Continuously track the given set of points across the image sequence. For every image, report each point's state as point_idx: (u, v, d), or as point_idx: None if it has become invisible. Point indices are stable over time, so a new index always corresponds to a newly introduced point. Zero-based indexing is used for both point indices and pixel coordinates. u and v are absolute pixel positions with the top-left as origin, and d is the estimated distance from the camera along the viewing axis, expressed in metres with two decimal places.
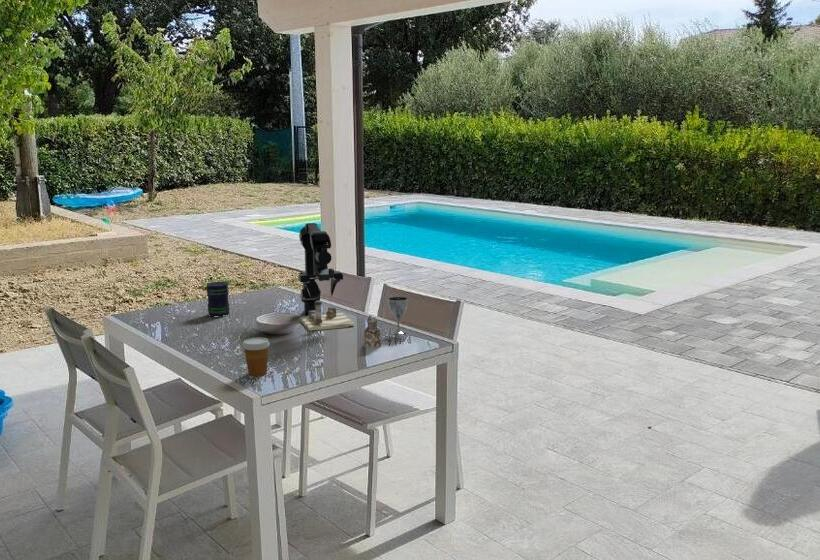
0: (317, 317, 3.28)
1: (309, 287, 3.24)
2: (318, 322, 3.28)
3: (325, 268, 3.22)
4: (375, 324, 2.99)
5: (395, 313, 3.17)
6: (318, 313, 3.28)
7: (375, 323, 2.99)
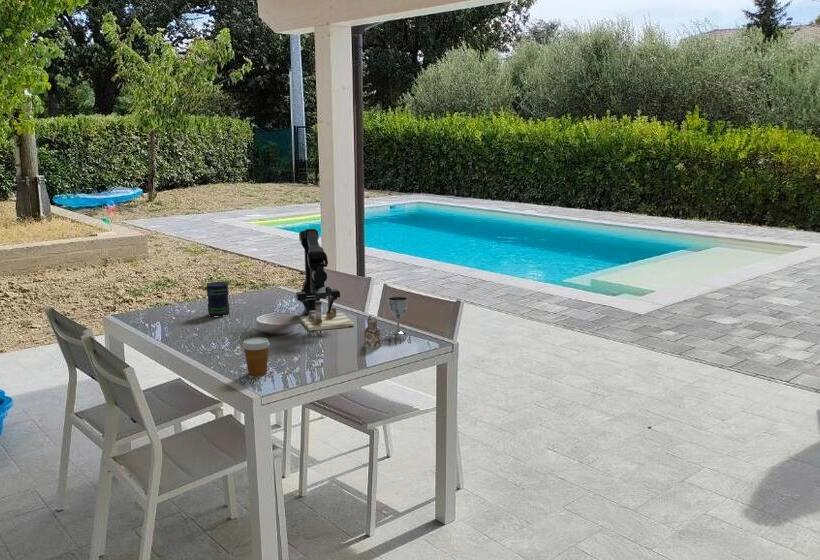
0: (317, 317, 3.28)
1: (306, 305, 3.25)
2: (318, 322, 3.28)
3: (322, 286, 3.23)
4: (375, 324, 2.99)
5: (395, 313, 3.17)
6: (318, 313, 3.28)
7: (375, 323, 2.99)
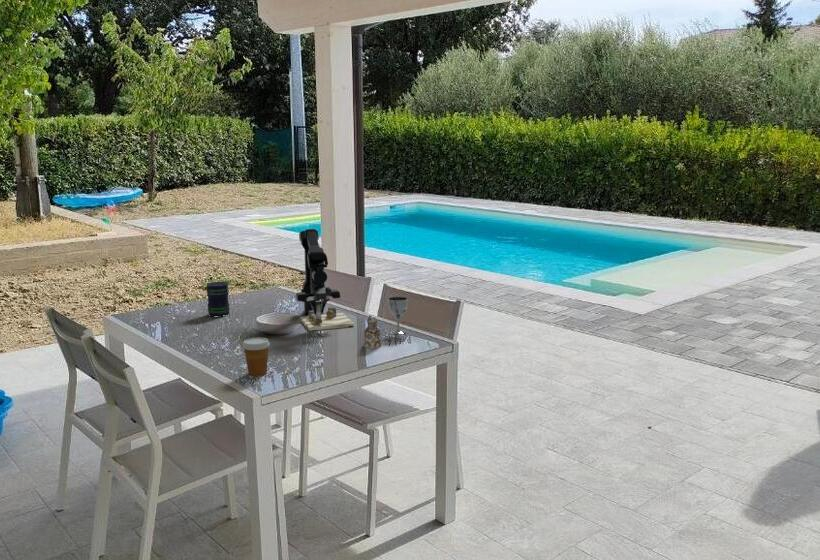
0: (317, 317, 3.28)
1: (313, 305, 3.26)
2: (318, 322, 3.28)
3: (322, 287, 3.23)
4: (375, 324, 2.99)
5: (395, 313, 3.17)
6: (318, 313, 3.28)
7: (375, 323, 2.99)
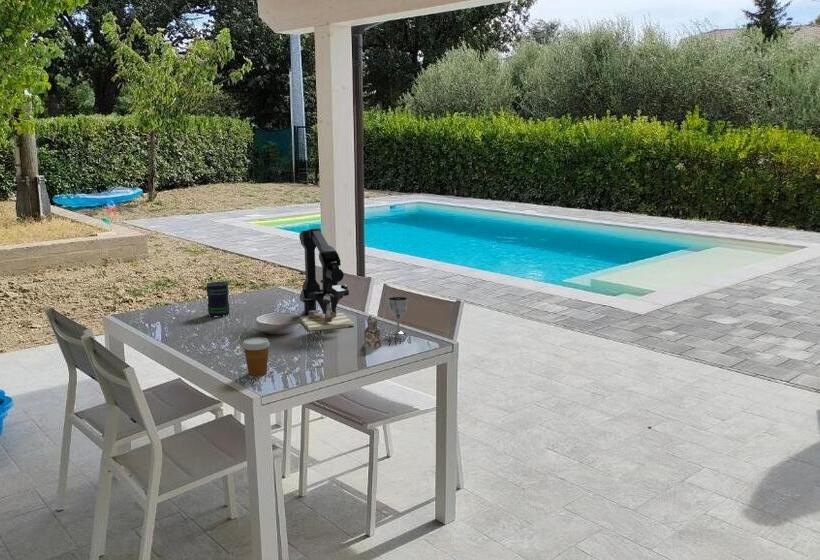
0: (327, 316, 3.30)
1: (325, 304, 3.28)
2: (328, 321, 3.30)
3: (337, 285, 3.28)
4: (375, 324, 2.99)
5: (395, 313, 3.17)
6: (328, 312, 3.30)
7: (375, 323, 2.99)
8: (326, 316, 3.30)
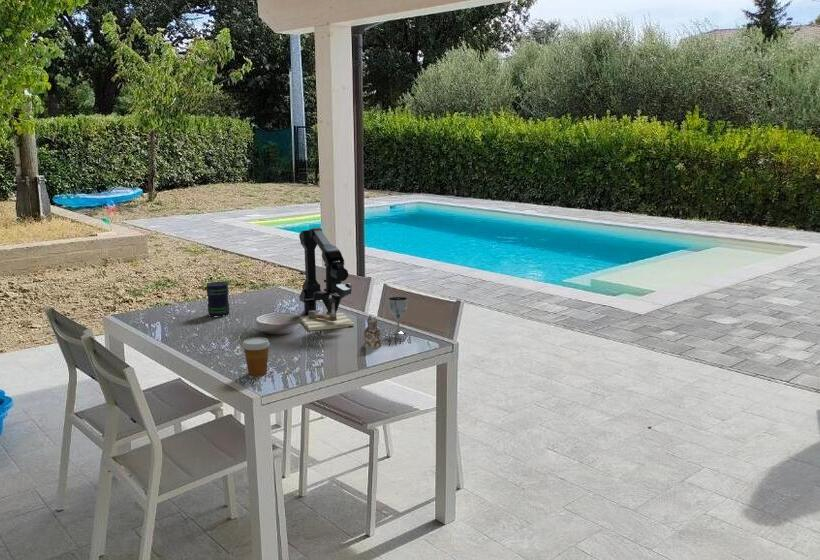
0: (332, 315, 3.32)
1: (330, 303, 3.29)
2: (333, 320, 3.32)
3: (341, 284, 3.30)
4: (375, 324, 2.99)
5: (395, 313, 3.17)
6: (333, 311, 3.32)
7: (375, 323, 2.99)
8: (331, 315, 3.32)
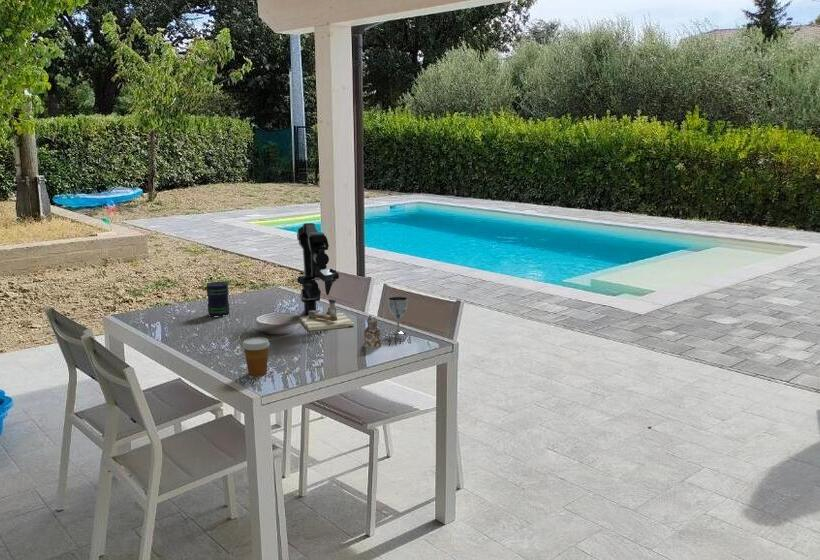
0: (332, 315, 3.32)
1: (310, 288, 3.29)
2: (334, 319, 3.32)
3: (325, 268, 3.29)
4: (375, 324, 2.99)
5: (395, 313, 3.17)
6: (333, 311, 3.32)
7: (375, 323, 2.99)
8: (332, 315, 3.32)
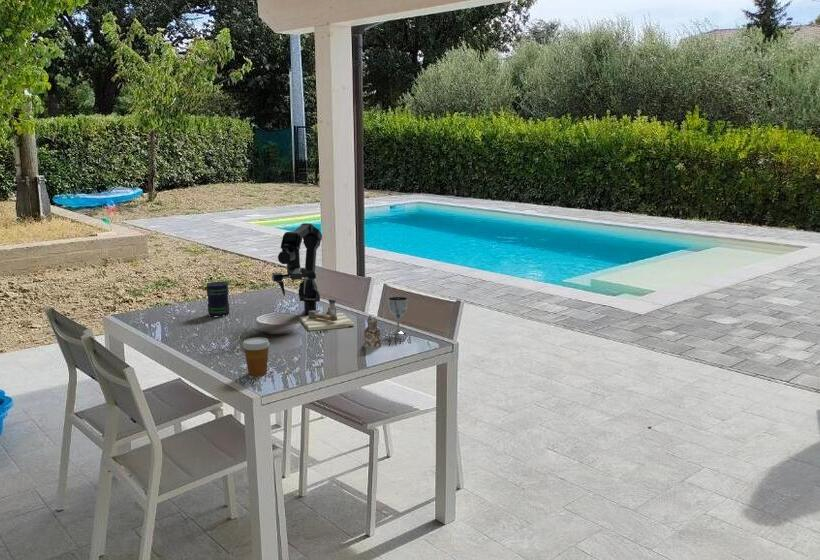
0: (332, 315, 3.32)
1: (282, 286, 3.32)
2: (334, 319, 3.32)
3: (298, 267, 3.31)
4: (375, 324, 2.99)
5: (395, 313, 3.17)
6: (333, 311, 3.32)
7: (375, 323, 2.99)
8: (332, 315, 3.32)
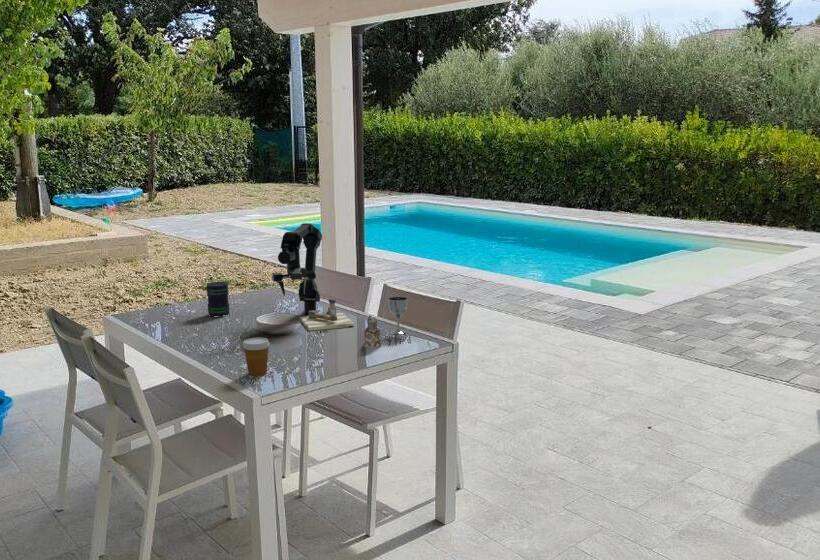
0: (332, 315, 3.32)
1: (282, 286, 3.32)
2: (334, 319, 3.32)
3: (298, 267, 3.31)
4: (375, 324, 2.99)
5: (395, 313, 3.17)
6: (333, 311, 3.32)
7: (375, 323, 2.99)
8: (332, 315, 3.32)
